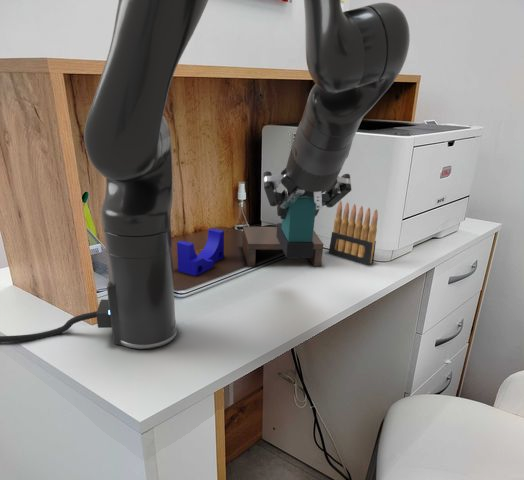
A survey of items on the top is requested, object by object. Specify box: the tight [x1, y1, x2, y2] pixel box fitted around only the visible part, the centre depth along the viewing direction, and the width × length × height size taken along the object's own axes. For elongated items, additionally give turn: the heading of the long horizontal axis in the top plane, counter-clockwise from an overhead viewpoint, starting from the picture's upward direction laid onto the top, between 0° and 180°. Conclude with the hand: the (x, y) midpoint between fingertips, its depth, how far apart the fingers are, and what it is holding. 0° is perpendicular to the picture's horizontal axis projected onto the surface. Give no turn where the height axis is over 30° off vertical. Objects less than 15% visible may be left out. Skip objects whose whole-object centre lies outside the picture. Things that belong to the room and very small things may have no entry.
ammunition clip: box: [328, 200, 379, 266], centre depth 109 cm, size 11×2×12 cm, turn 51°
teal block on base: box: [276, 196, 316, 259], centre depth 84 cm, size 4×11×10 cm, turn 7°
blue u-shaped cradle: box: [176, 228, 225, 277], centre depth 103 cm, size 12×4×6 cm, turn 149°
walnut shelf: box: [241, 226, 324, 268], centre depth 110 cm, size 16×12×5 cm
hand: (295, 214), depth 83 cm, fingers closed on teal block on base, 4 cm apart
